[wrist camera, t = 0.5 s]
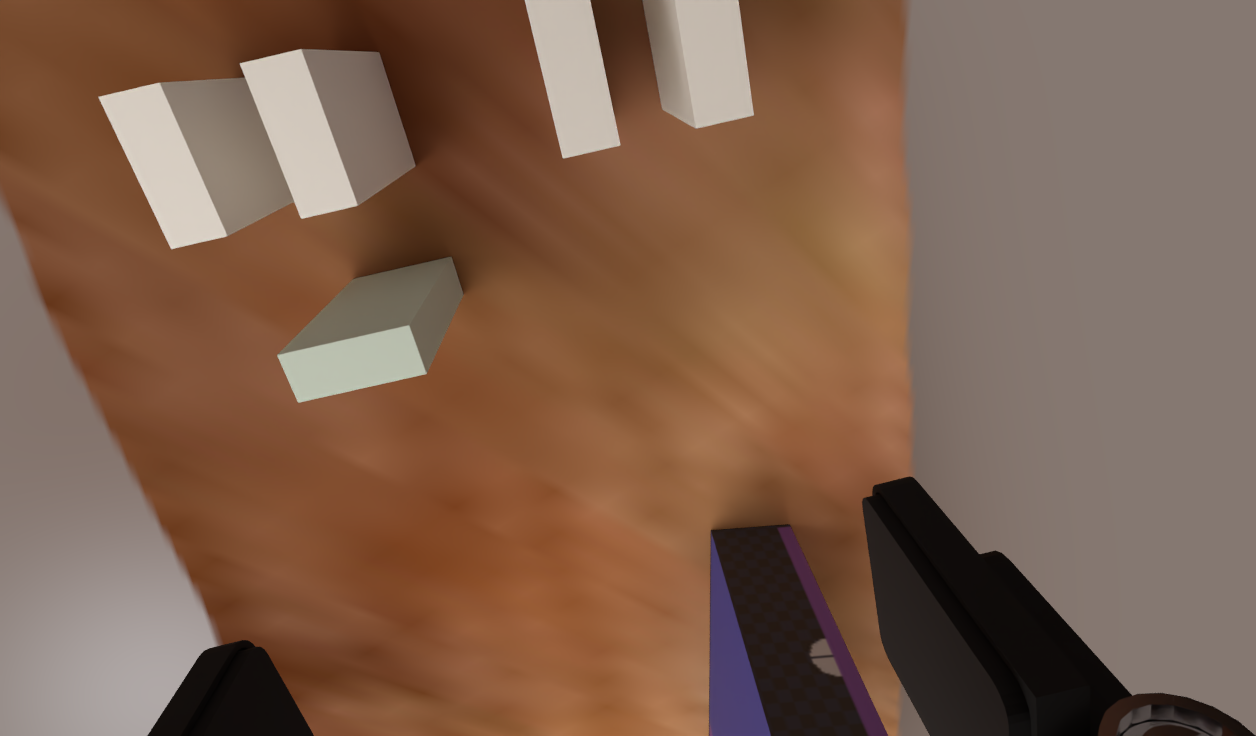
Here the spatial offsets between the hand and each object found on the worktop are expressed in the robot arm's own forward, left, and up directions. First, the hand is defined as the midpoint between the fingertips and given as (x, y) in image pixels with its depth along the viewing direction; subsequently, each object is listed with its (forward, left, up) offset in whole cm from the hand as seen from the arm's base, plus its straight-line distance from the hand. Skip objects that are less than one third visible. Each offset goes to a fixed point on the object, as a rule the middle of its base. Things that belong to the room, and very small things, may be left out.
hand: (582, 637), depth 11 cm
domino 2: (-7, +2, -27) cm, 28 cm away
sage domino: (+1, -9, -27) cm, 28 cm away
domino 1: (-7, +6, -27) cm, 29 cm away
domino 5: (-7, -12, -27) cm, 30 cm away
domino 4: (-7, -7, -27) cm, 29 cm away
